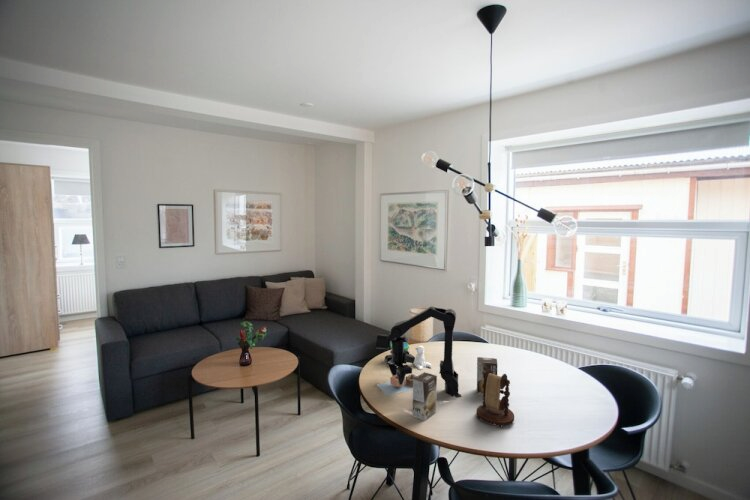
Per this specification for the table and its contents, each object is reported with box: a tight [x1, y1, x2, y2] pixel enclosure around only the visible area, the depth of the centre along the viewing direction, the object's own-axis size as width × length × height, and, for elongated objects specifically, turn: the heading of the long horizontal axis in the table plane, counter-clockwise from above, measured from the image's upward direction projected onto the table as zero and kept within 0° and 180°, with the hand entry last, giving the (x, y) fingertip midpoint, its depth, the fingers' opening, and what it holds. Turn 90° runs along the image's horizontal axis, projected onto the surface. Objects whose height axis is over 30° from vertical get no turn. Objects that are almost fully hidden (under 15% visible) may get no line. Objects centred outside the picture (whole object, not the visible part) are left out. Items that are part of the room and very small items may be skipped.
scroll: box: [476, 369, 515, 429], centre depth 150 cm, size 15×15×20 cm
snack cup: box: [390, 342, 410, 352], centre depth 210 cm, size 16×10×10 cm
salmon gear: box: [389, 374, 406, 387], centre depth 177 cm, size 7×7×3 cm
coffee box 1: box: [411, 372, 438, 422], centre depth 154 cm, size 9×6×16 cm
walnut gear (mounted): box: [405, 373, 418, 387], centre depth 180 cm, size 7×7×4 cm
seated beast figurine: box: [413, 345, 433, 371], centre depth 202 cm, size 10×9×12 cm
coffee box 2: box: [476, 356, 498, 397], centre depth 172 cm, size 9×6×16 cm
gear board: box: [376, 378, 413, 396], centre depth 178 cm, size 12×22×1 cm, turn 112°
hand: (397, 381), depth 177 cm, fingers closed on salmon gear, 7 cm apart
